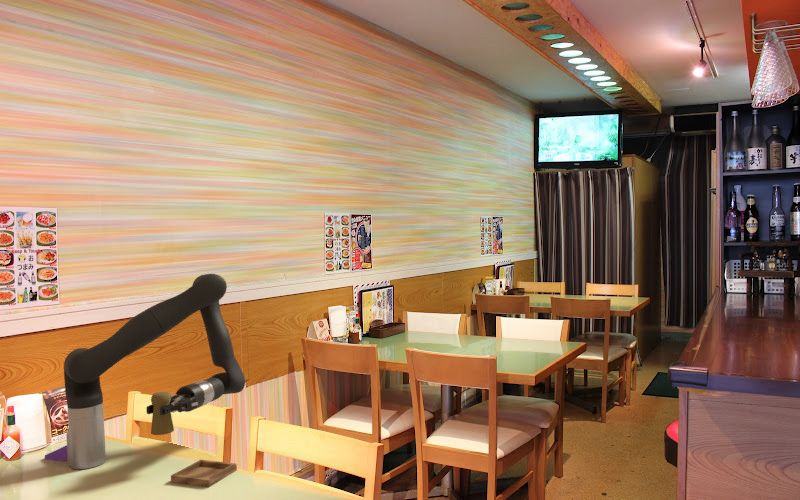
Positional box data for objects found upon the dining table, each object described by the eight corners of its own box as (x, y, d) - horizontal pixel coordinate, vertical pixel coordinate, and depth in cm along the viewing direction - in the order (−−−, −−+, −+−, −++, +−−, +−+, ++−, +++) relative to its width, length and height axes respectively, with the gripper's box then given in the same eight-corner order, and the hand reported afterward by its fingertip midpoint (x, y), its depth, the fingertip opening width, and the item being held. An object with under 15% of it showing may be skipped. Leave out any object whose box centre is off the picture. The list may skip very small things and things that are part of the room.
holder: (171, 482, 164) (170, 475, 164) (200, 465, 176) (200, 459, 175) (208, 487, 160) (208, 480, 160) (236, 470, 171) (236, 463, 171)
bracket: (94, 455, 189) (93, 432, 189) (76, 463, 183) (75, 440, 182) (63, 452, 193) (62, 430, 193) (45, 460, 186) (43, 437, 186)
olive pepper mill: (166, 435, 171) (164, 395, 171) (146, 434, 172) (144, 395, 172) (178, 428, 177) (176, 389, 177) (158, 427, 178) (157, 389, 178)
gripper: (175, 381, 190) (133, 395, 174) (214, 384, 185) (174, 399, 169) (176, 406, 190) (134, 422, 174) (215, 409, 185) (175, 426, 169)
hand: (154, 411), depth 172 cm, fingers closed on olive pepper mill, 4 cm apart
